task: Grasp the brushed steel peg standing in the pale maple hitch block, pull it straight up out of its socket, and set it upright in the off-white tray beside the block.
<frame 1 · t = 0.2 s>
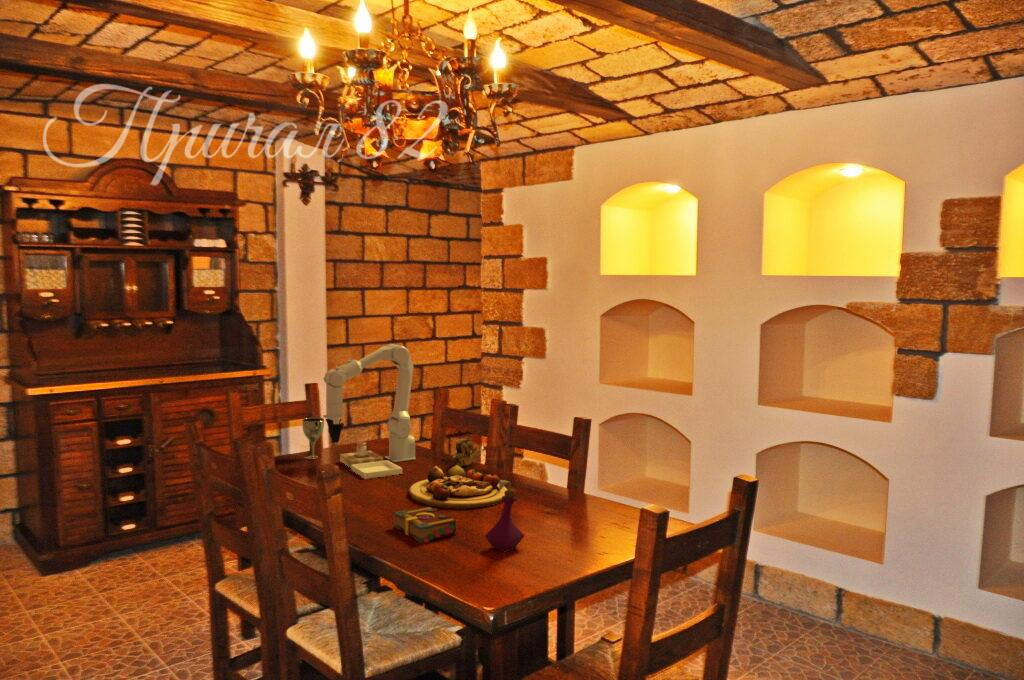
hand: (334, 440, 265), 10 cm above the table, tool pointing down, fingers open, 7 cm apart
perfume bottle: (504, 548, 190), on the table
hitch block: (361, 463, 272), on the table
tray: (376, 472, 260), on the table
wooden carving: (465, 466, 273), on the table
decorative book: (425, 533, 201), on the table
wine glass: (313, 458, 278), on the table
peg: (361, 453, 271), in the hitch block
wooden plate with food: (458, 496, 237), on the table
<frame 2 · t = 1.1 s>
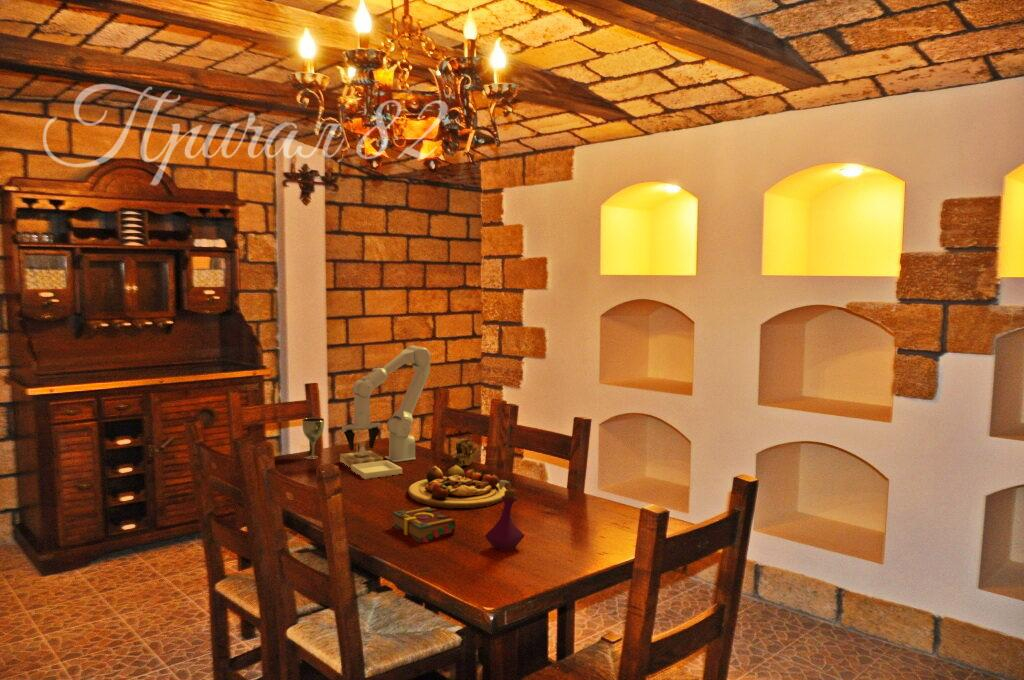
hand: (361, 448, 271), 6 cm above the table, tool pointing down, fingers open, 7 cm apart
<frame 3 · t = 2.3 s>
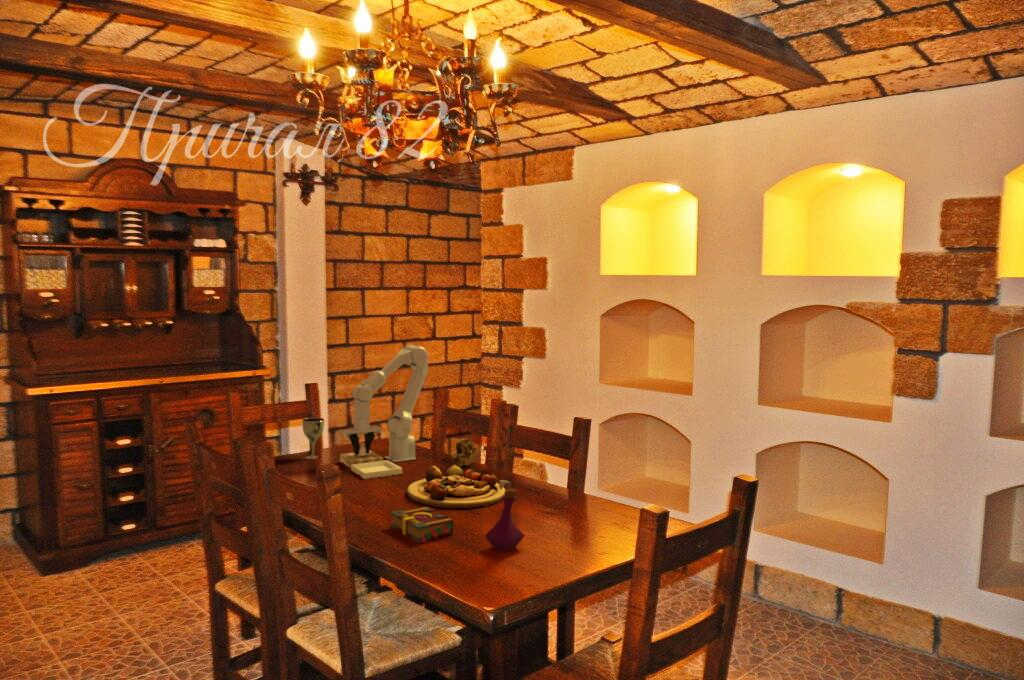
hand: (361, 453, 271), 4 cm above the table, tool pointing down, fingers closed on peg, 4 cm apart
peg: (361, 453, 271), in the hitch block, touching gripper
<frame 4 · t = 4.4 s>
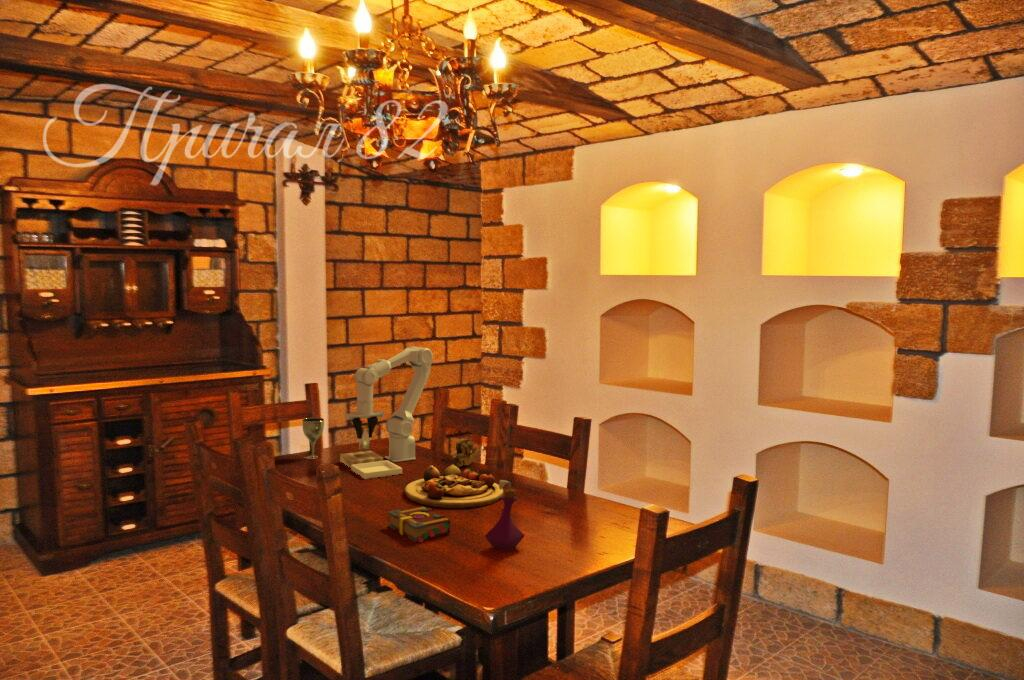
hand: (364, 437, 268), 10 cm above the table, tool pointing down, fingers closed on peg, 4 cm apart
peg: (364, 437, 268), point 10 cm above the table, touching gripper
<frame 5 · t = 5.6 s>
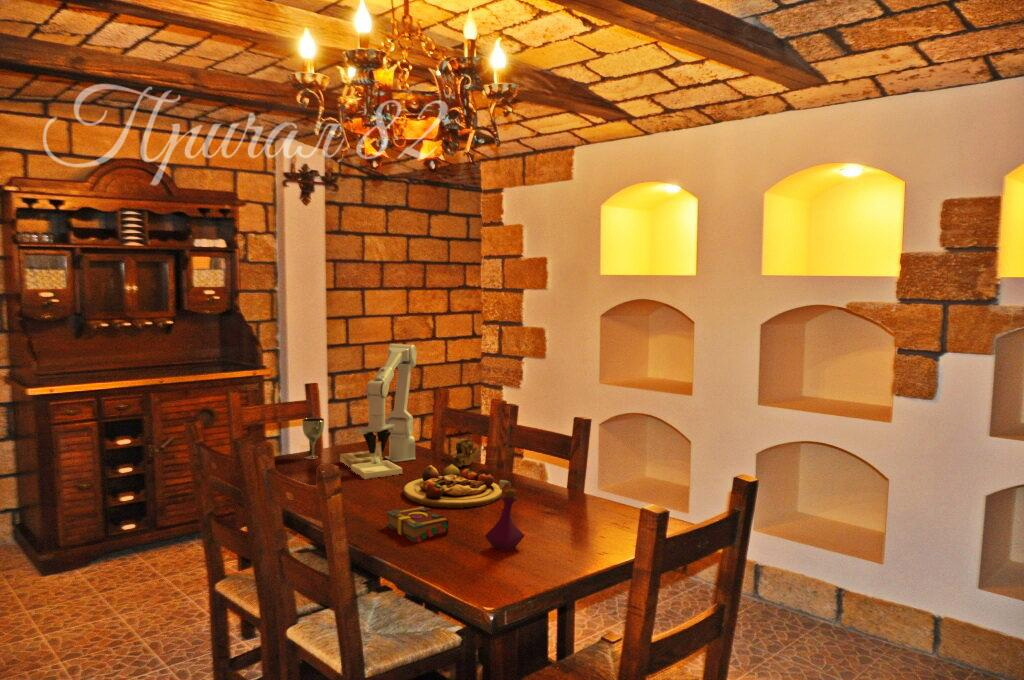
hand: (376, 452, 260), 7 cm above the table, tool pointing down, fingers closed on peg, 4 cm apart
peg: (376, 452, 260), point 7 cm above the table, touching gripper
when the fingers open (6 cm above the table, at t = 6.5 s): peg drops 2 cm, resting on tray.
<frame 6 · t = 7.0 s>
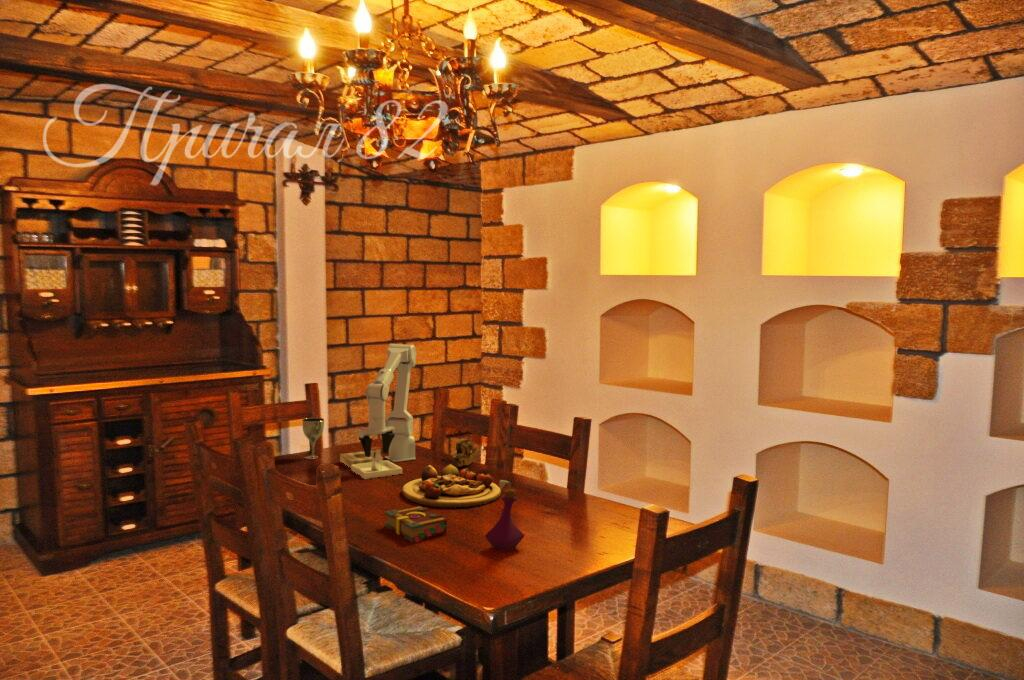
hand: (376, 454, 260), 6 cm above the table, tool pointing down, fingers open, 7 cm apart
peg: (376, 459, 260), in the tray, point 5 cm above the table
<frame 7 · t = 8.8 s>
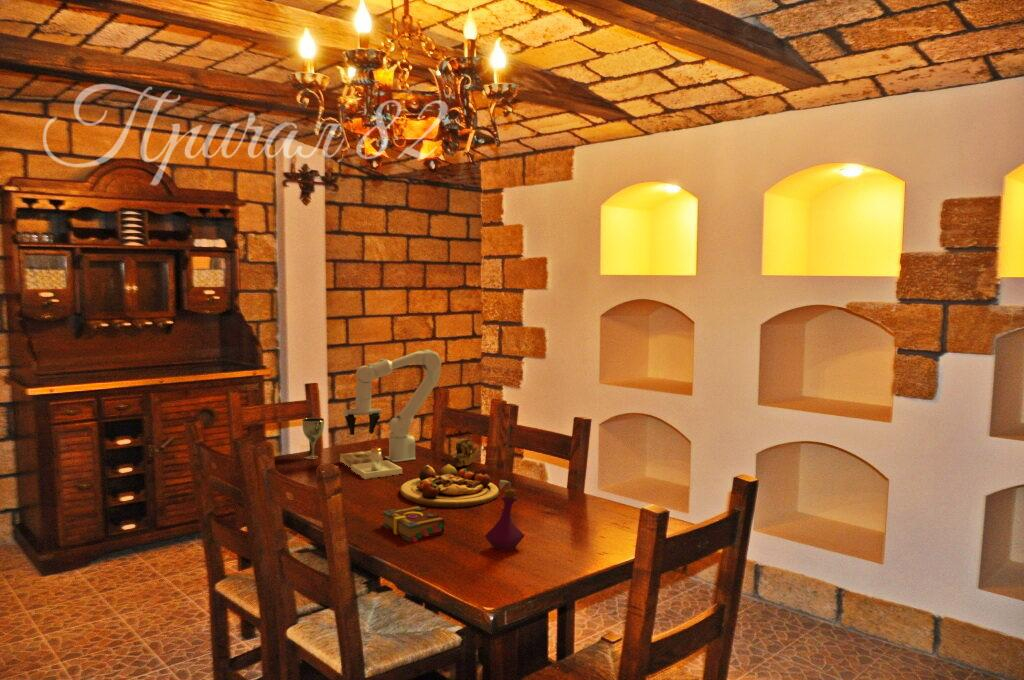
hand: (361, 433, 275), 10 cm above the table, tool pointing down, fingers open, 7 cm apart
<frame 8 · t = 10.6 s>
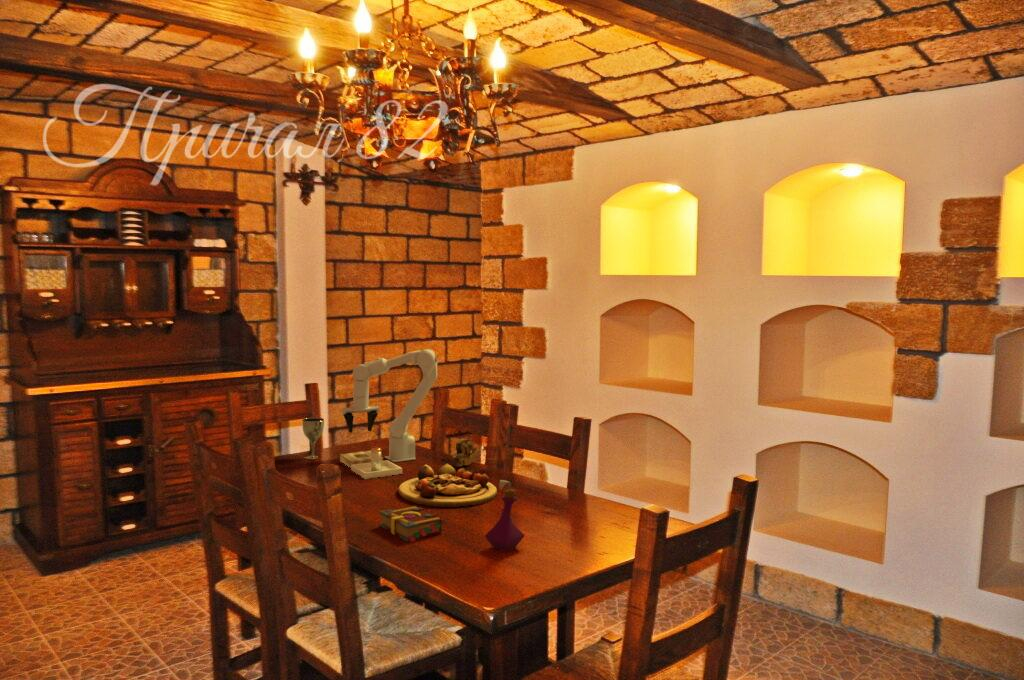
hand: (360, 431, 279), 10 cm above the table, tool pointing down, fingers open, 7 cm apart
at the end: peg inside the target area on the tray (0.1 cm from its centre), point 4.6 cm above the tray's base; peg tilted 0°; the gripper is holding nothing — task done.
